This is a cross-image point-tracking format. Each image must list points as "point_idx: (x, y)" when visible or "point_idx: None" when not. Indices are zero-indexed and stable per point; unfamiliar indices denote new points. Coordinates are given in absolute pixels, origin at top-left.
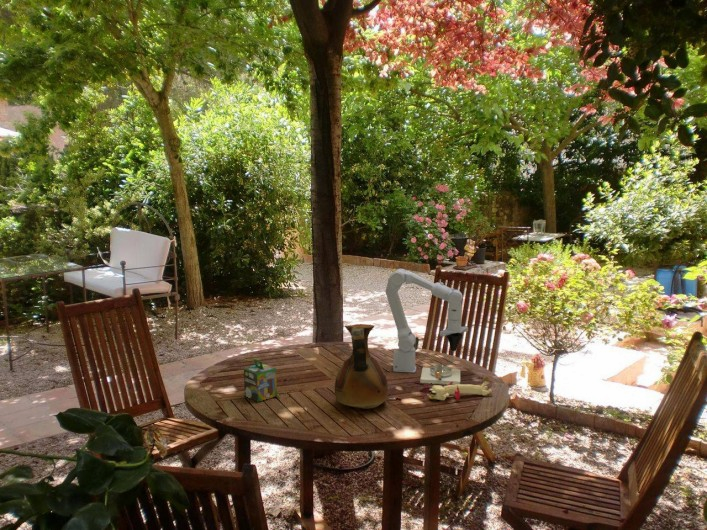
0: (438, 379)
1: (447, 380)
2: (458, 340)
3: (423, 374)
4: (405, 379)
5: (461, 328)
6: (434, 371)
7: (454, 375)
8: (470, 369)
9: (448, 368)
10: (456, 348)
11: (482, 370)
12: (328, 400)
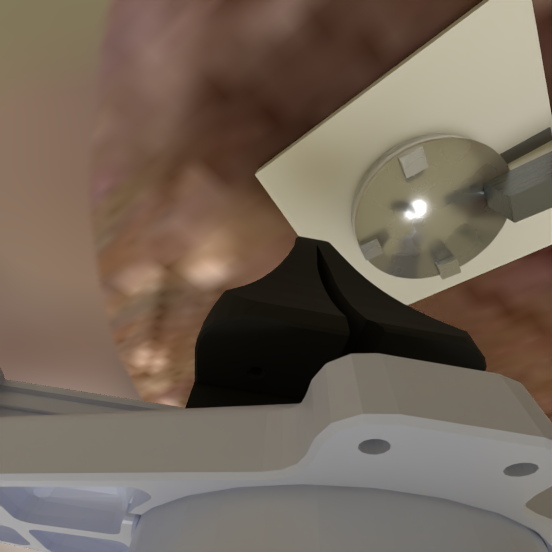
0: (535, 153)
1: (535, 88)
2: (300, 282)
3: (472, 268)
4: (524, 300)
5: (58, 504)
6: (506, 218)
7: (392, 124)
8: (158, 162)
9: (392, 187)
10: (306, 243)
11: (103, 88)
12: None
